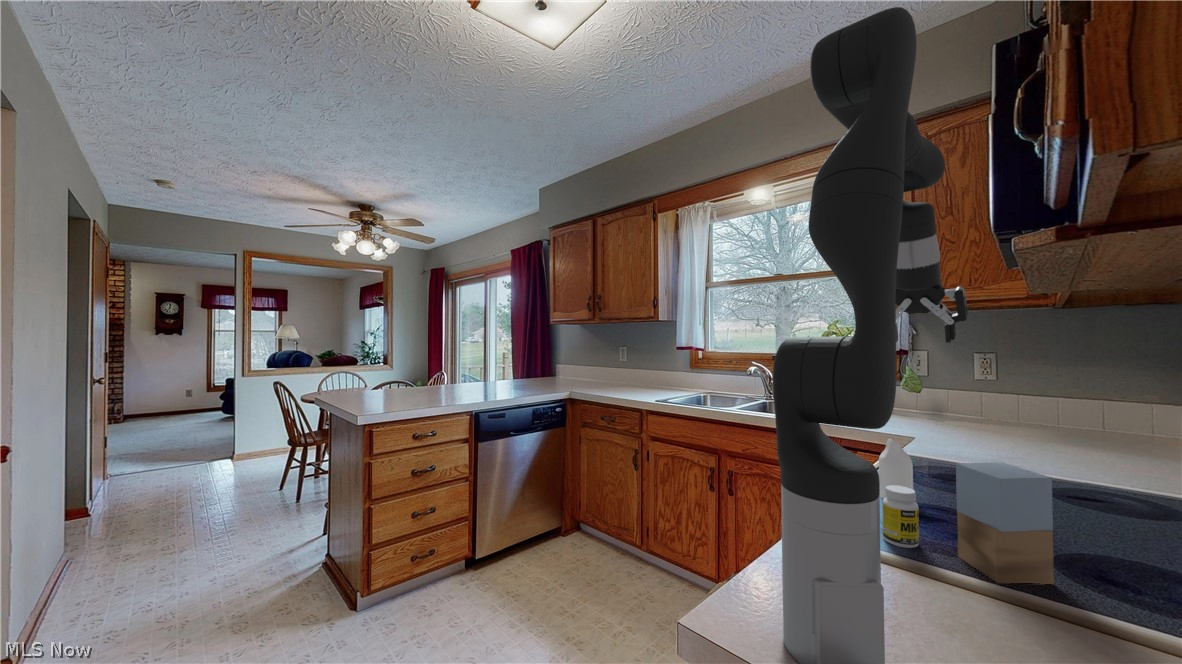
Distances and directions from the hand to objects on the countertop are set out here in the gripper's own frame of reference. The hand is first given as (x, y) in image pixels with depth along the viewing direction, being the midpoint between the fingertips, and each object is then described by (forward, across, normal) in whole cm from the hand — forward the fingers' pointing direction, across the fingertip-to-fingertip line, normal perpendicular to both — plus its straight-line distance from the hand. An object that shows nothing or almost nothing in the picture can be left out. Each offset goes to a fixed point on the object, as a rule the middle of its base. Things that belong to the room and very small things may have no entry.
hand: (921, 341), depth 88 cm
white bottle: (+29, -4, -13) cm, 32 cm away
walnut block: (+21, +12, -33) cm, 41 cm away
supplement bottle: (+21, 0, -32) cm, 39 cm away
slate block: (+15, +12, -30) cm, 36 cm away
